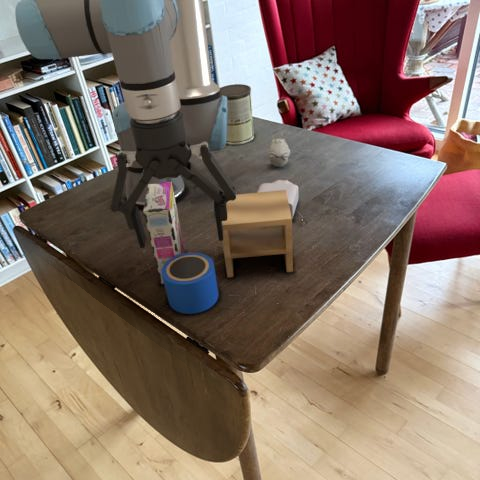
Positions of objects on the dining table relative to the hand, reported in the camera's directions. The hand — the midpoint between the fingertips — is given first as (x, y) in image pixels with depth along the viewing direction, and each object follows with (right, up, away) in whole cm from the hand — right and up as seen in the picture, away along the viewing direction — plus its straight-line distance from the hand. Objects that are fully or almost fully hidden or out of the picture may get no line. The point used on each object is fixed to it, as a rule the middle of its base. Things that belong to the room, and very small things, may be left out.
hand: (182, 240), depth 79 cm
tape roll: (+1, -9, +8) cm, 13 cm away
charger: (+19, +14, +31) cm, 39 cm away
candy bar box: (-4, -3, +16) cm, 17 cm away
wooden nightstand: (+14, -1, +15) cm, 21 cm away
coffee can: (+9, +42, +63) cm, 76 cm away
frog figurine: (+21, +28, +46) cm, 58 cm away
